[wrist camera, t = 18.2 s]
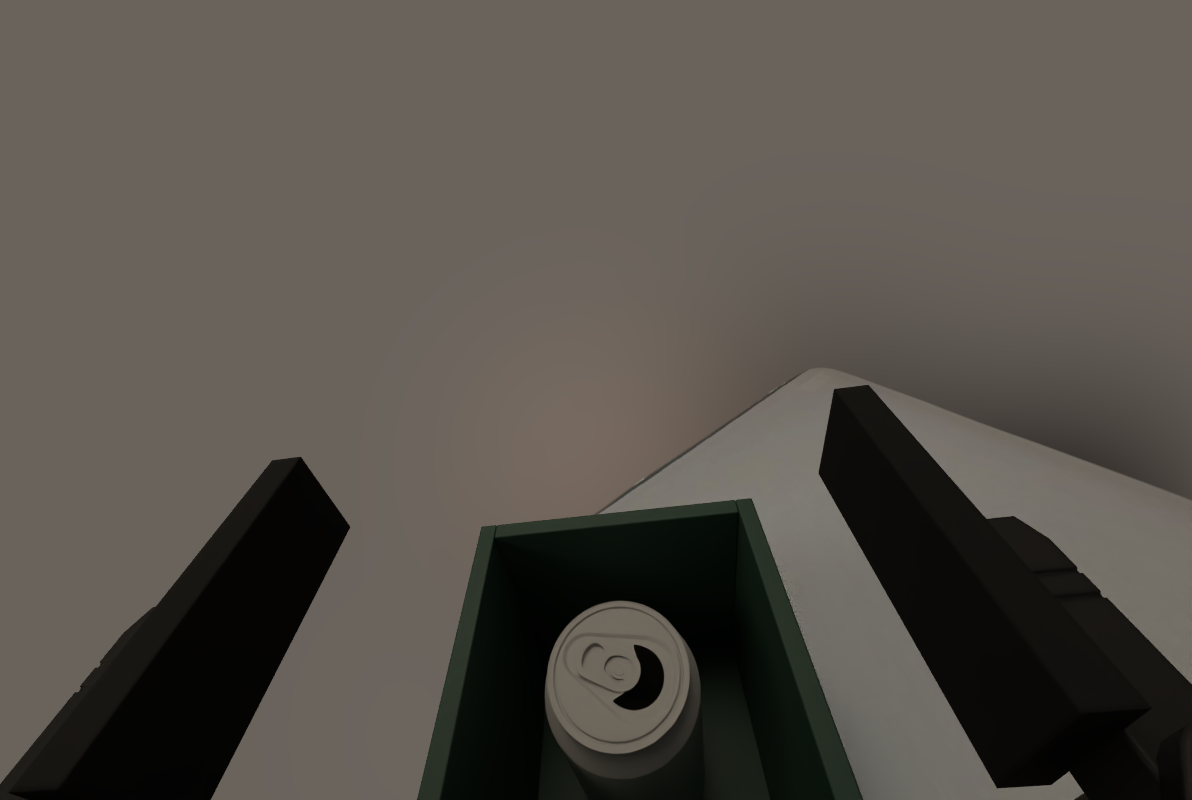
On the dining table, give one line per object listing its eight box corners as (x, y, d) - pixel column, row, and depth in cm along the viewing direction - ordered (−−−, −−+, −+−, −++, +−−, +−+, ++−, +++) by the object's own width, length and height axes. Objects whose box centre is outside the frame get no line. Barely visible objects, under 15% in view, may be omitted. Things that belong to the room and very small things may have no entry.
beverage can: (686, 879, 22) (672, 804, 15) (565, 810, 24) (505, 718, 17) (717, 731, 26) (718, 619, 19) (612, 686, 29) (579, 574, 22)
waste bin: (513, 971, 21) (385, 927, 13) (540, 657, 32) (481, 526, 24) (825, 963, 20) (904, 908, 12) (741, 640, 31) (751, 497, 23)
